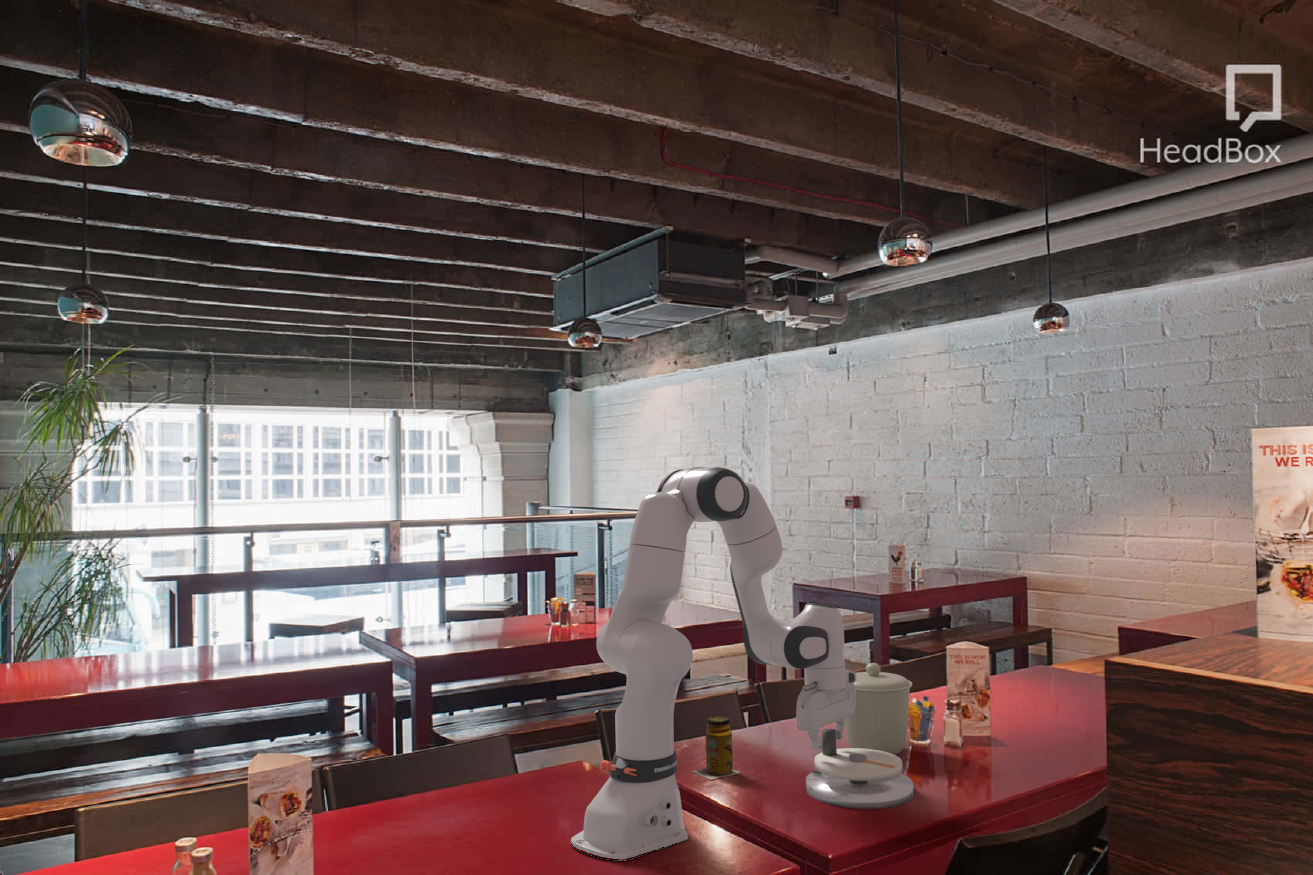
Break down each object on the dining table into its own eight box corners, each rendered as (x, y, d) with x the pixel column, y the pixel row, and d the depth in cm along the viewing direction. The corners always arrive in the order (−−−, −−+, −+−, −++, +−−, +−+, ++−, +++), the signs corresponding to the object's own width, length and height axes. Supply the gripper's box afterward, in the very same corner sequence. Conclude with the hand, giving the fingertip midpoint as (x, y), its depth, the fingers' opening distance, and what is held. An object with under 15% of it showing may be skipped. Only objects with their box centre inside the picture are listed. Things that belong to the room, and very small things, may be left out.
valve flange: (885, 816, 169) (883, 792, 169) (786, 794, 183) (785, 773, 183) (930, 786, 186) (929, 765, 186) (837, 768, 200) (836, 748, 200)
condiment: (740, 773, 198) (739, 719, 199) (711, 780, 194) (709, 725, 195) (721, 765, 205) (719, 713, 205) (691, 772, 200) (690, 718, 201)
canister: (876, 766, 200) (872, 672, 202) (823, 748, 216) (819, 662, 217) (931, 753, 210) (927, 663, 211) (877, 737, 225) (873, 654, 227)
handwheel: (918, 765, 185) (916, 733, 185) (873, 786, 172) (872, 752, 172) (844, 750, 197) (843, 720, 198) (797, 768, 184) (796, 737, 185)
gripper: (813, 688, 180) (816, 757, 179) (859, 672, 196) (862, 735, 195) (787, 685, 184) (790, 752, 183) (834, 669, 200) (837, 731, 199)
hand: (827, 743), depth 189 cm, fingers open, 8 cm apart
